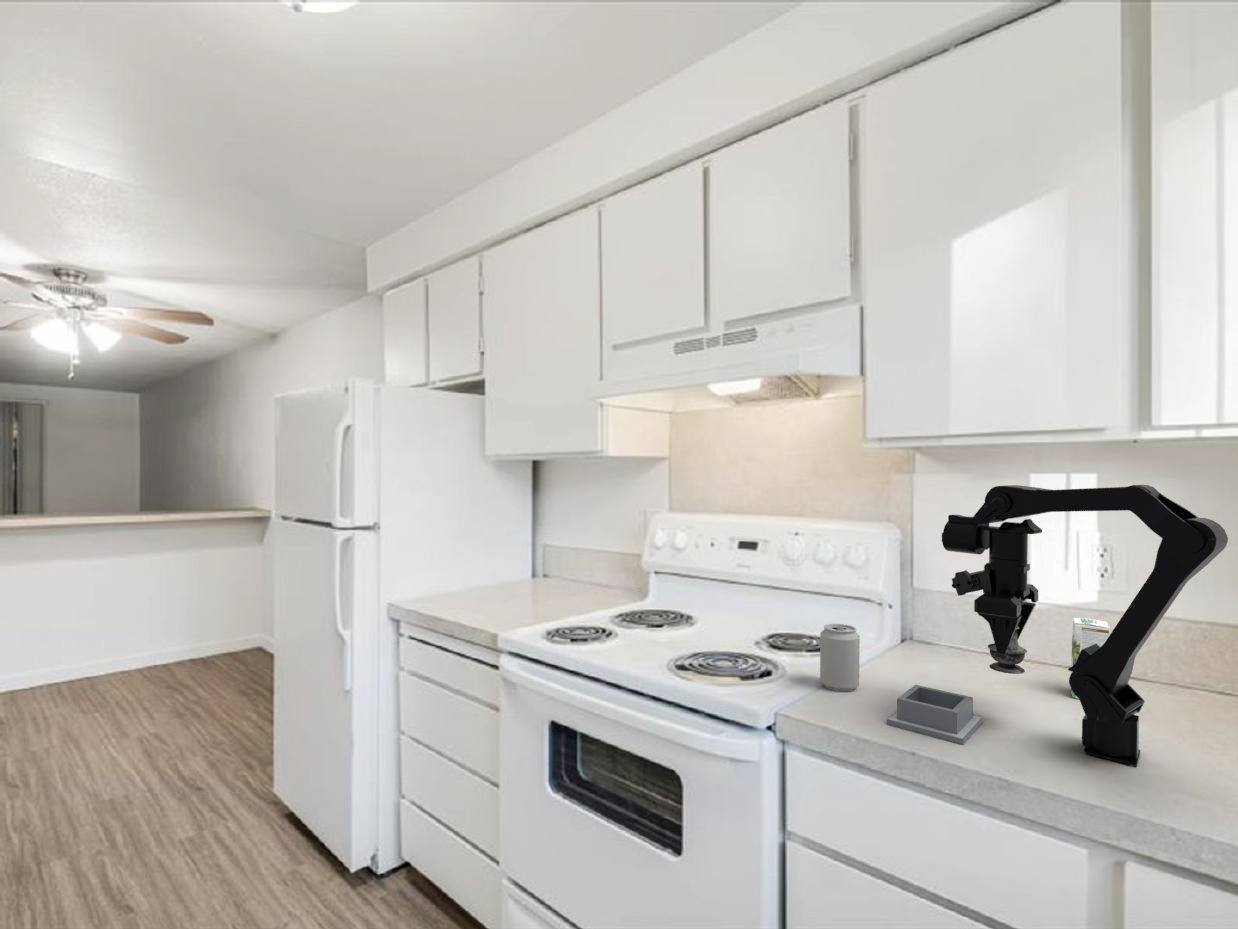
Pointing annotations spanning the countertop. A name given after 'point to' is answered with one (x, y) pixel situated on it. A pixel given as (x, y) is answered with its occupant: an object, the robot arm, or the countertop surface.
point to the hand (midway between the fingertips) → (1007, 648)
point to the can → (839, 657)
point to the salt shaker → (1008, 657)
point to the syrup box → (1087, 636)
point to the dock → (936, 714)
